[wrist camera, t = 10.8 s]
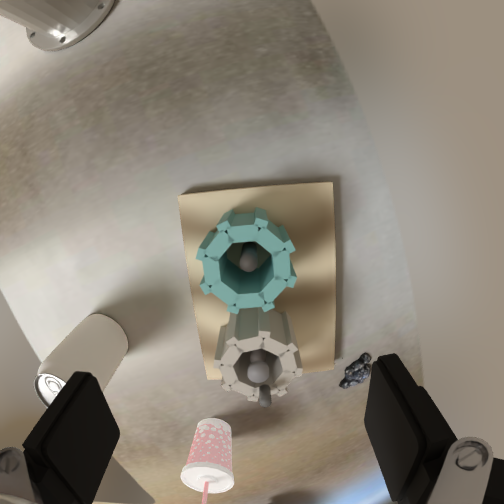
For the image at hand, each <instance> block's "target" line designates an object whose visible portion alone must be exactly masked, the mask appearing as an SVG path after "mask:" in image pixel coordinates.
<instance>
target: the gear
mask: <svg viewBox="0 0 504 504" xmlns="http://www.w3.org/2000/svg"><path fill="white" fill-rule="evenodd" d="M261 348H262V349H264V350H265V351H266V361H265V362H263V361H254V362H252V363H251V361H250V351H252V350H257V349H261ZM213 368H217V369H220V371H221V374H222V381H221V386H222V387H223V388H224V389H225V390H226V391H227V392H228V391H230V390H234V391H237V392H239V393H241V394H244V395H246V396H248V401H258V397H259V404H260V405H261V406H262V407H268V406H270V405H271V395H273V394H277V395H278V396H279V397H280V396H282V395H284V394H286V393H288V390H287V385H288V384H289V383H290V382H291V381H292V379H293V378H294V377H295V376H298V377H301V374H302V370H303V367H302V362H301V358H300V353H299V349H298V345H297V340H296V336H295V333H294V328H293V324H292V320H291V317H290V316H289V314H288V313H287V312H286V311H285V312H284V313H282V314H280V313H278V312H276V311H275V310H273V309H271V310H268V311H266V312H264V311H263V309H262V307H254V308H245V309H239V312H238V314H235V313H231V312H230V317H229V323H228V324H227V326H226V327H220V332H219V337H218V342H217V347H216V352H215V358H214V366H213Z"/></svg>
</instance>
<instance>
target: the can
mask: <svg viewBox="0 0 504 504" xmlns="http://www.w3.org/2000/svg"><path fill="white" fill-rule="evenodd" d="M127 350H128V340H127V337H126V334H125V332H124V331H123V329H122V328H121V327H120V325H119V324H118V323H117V322H115V321H114V320H113V319H111V318H109V317H107V316H105V315H102V314H93V315H90V316H88V317H86V318H85V319H84V320H83V321H82V322H81V323H80V324H79V325H78V326H77V327H76V328H75V329H74V330H73V331H72V332H71V333H70V334H69V335H68V336H67V337H66V338H65V339H64V340H63V341H62V342H61V343H60V344H59V345H58V346H57V347H56V348H55V349H54V350H53V351H52V353H51V354H50V355H49V356H48V357H47V358H46V359H45V360H44V361H43V363H42V364H41V365H40V367H39V369H38V374H37V376H36V377H35V379H34V389H35V392H36V394H37V396H38V398H39V399H40V400H41V402H42V403H43V404H44V405H45V407H46V408H48V407H49V405H50V404H51V403H52V401H53V400H54V399H55V397H56V396H57V394H58V393H59V392H60V390H61V389H62V388H63V386H64V385H65V384H66V382H67V381H68V380H69V378H70V377H71V376H72V374H73V373H74V372H75V371H82V372H90V373H91V374H92V375H93V376H94V377H96V378H97V380H98V383H99V385H100V388H101V390H102V392H103V391H104V389H105V388H106V386H107V384H108V383H109V381H110V380H111V378H112V376H113V375H114V373H115V371H116V370H117V368H118V366H119V365H120V363H121V361H122V360H123V358H124V356H125V355H126V353H127Z"/></svg>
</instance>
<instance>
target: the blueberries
mask: <svg viewBox="0 0 504 504" xmlns="http://www.w3.org/2000/svg"><path fill="white" fill-rule="evenodd" d="M342 359H343V357H342ZM370 360H371V358H370V356H369V355H368V354H367V353H363V354H362V355H361V356H360V358H359V359H358V360H356V361H354V362H353V363H351V365H349V366H348V367H346V369H345V378H344V379H343V380H342V381H341V382H340V384H339V386H340V387H342V388H344V389H345V388H348V387H350V386H355V385H357V384H358V383H363V381H364V380H365V378H368V377H369V374H370V365H369V364H367V363H369V362H370ZM335 365H336V364H335Z"/></svg>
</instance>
